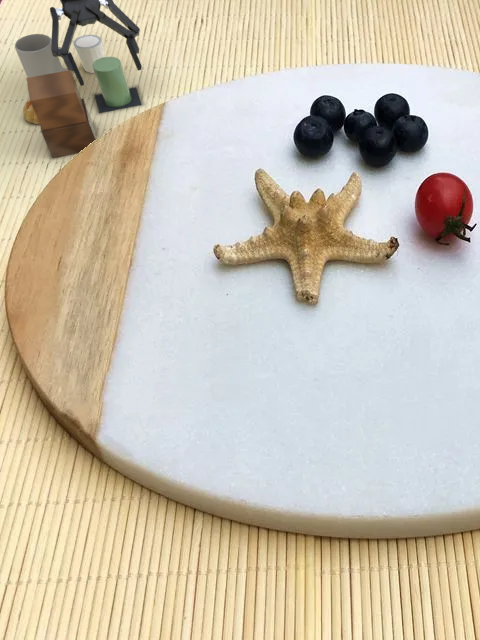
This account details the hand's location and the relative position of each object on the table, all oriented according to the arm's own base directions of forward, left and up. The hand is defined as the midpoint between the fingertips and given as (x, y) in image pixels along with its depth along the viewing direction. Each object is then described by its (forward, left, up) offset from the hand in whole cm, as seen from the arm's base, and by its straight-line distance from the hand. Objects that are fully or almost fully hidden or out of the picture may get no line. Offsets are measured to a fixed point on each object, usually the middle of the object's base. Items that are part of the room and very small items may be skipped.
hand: (111, 76), depth 156 cm
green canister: (0, +2, -7) cm, 8 cm away
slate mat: (0, +2, -8) cm, 8 cm away
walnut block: (-12, -11, -8) cm, 18 cm away
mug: (-13, +14, -8) cm, 21 cm away
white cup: (-3, +19, -8) cm, 21 cm away
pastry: (-17, +1, -8) cm, 19 cm away
